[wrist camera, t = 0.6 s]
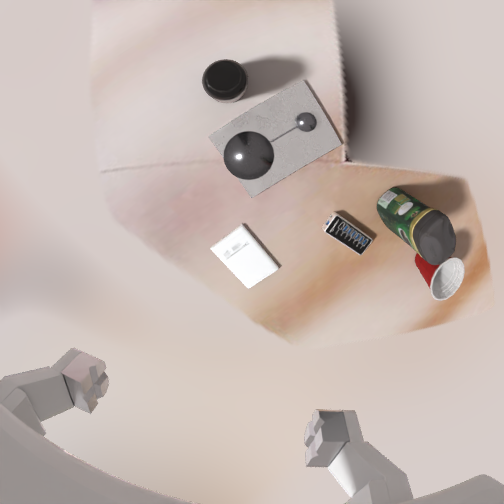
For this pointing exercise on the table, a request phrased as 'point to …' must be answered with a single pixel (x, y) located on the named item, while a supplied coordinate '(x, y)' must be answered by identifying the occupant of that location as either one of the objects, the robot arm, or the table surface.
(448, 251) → the coffee jar
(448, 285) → the plastic cup
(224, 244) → the external hard drive
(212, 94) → the supplement bottle
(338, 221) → the multiport hub
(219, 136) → the plate
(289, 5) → the table surface
